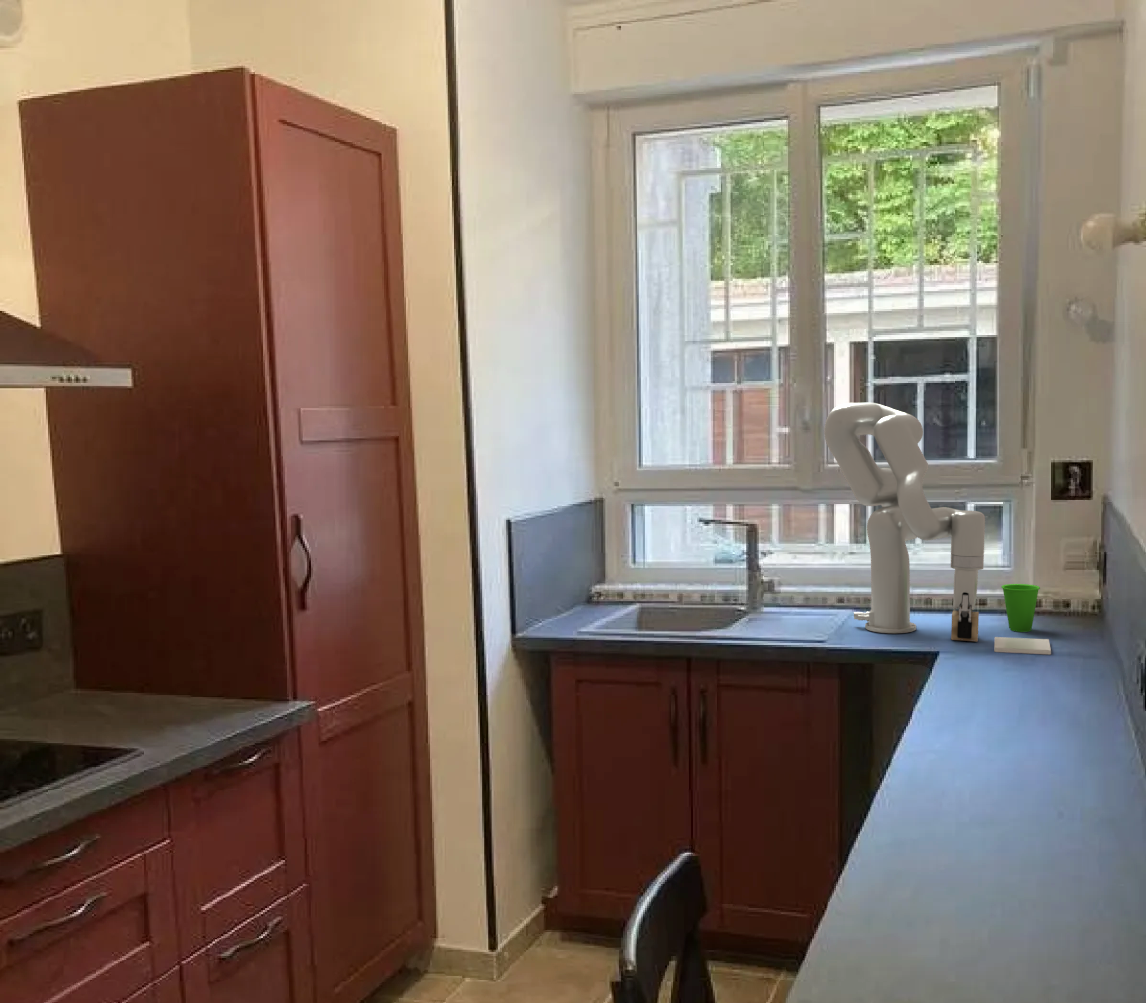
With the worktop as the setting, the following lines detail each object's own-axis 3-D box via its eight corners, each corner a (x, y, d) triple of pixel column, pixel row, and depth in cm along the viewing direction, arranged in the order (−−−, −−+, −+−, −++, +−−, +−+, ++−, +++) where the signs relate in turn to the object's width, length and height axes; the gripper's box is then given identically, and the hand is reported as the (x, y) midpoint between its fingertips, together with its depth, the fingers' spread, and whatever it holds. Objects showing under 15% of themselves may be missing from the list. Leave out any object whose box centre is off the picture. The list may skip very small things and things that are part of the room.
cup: (1045, 633, 274) (1046, 589, 273) (1008, 634, 274) (1009, 590, 273) (1031, 626, 283) (1031, 583, 282) (995, 626, 283) (995, 584, 282)
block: (951, 639, 268) (951, 615, 267) (952, 634, 273) (952, 610, 273) (977, 641, 266) (978, 616, 265) (978, 636, 271) (978, 612, 271)
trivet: (994, 651, 256) (994, 647, 255) (994, 641, 267) (994, 637, 267) (1050, 654, 251) (1050, 650, 251) (1048, 643, 262) (1048, 639, 262)
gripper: (952, 555, 277) (950, 626, 279) (949, 566, 261) (946, 641, 263) (984, 557, 274) (981, 628, 276) (983, 568, 258) (980, 644, 260)
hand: (964, 634), depth 269 cm, fingers closed on block, 6 cm apart
